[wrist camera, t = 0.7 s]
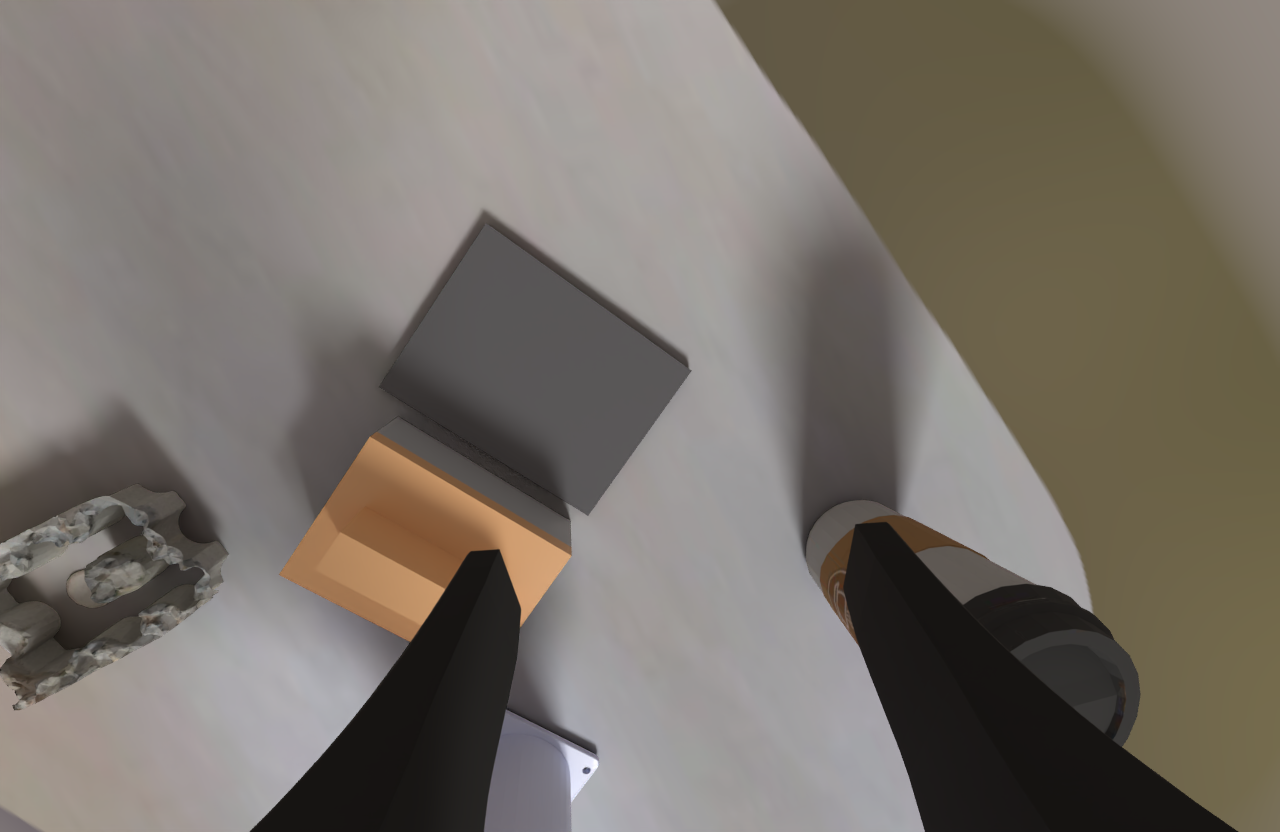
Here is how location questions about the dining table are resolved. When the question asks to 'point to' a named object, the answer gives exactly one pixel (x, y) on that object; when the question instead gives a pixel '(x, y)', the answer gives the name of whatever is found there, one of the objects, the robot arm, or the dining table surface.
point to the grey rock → (99, 588)
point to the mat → (534, 372)
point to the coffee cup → (998, 613)
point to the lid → (413, 540)
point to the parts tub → (477, 478)
